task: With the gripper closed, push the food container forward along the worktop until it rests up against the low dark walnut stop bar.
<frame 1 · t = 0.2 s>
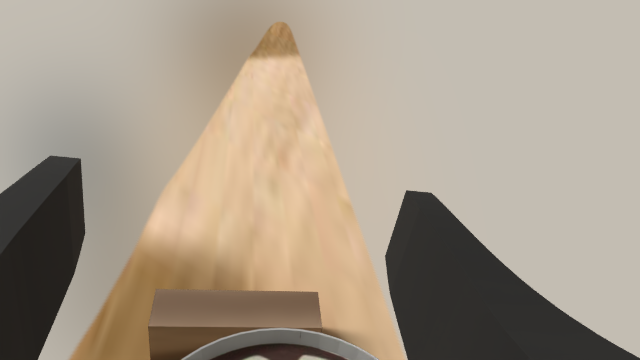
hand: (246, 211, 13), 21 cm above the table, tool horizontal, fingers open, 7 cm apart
walnut stop bar: (236, 342, 37), on the table
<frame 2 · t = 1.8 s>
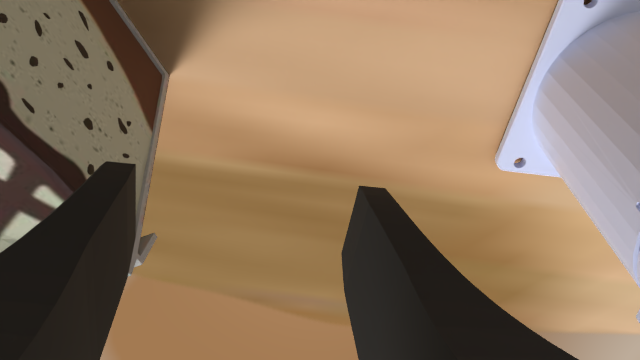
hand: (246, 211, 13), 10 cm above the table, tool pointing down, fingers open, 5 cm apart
food container: (21, 2, 21), on the table
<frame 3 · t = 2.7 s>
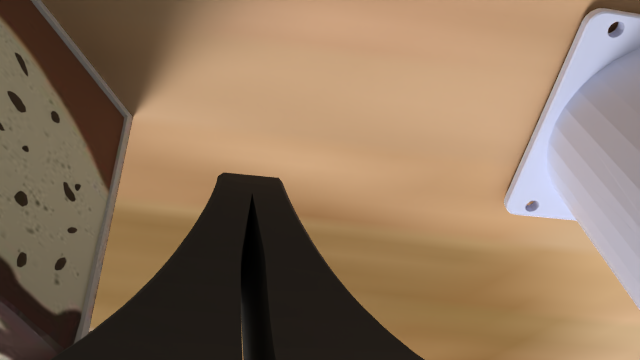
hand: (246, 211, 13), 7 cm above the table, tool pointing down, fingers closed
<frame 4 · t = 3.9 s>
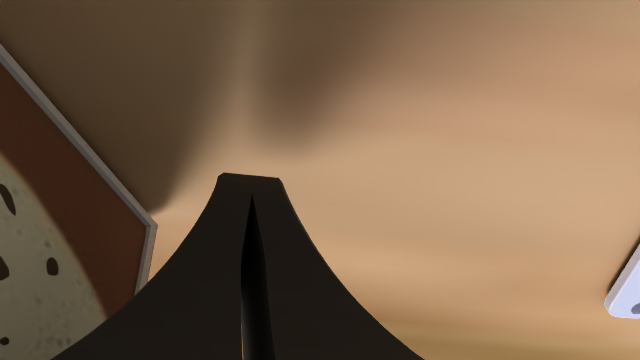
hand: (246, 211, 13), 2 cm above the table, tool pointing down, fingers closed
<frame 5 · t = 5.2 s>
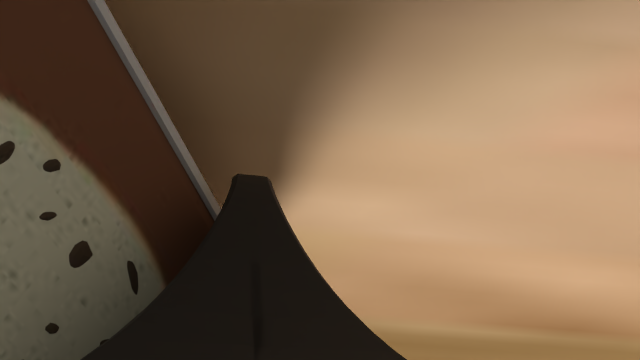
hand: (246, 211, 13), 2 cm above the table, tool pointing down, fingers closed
food container: (73, 146, 13), on the table, touching gripper
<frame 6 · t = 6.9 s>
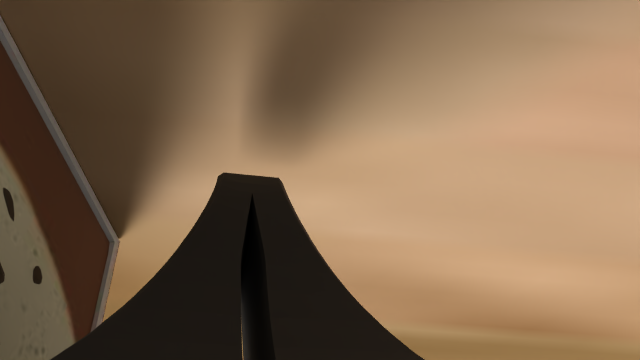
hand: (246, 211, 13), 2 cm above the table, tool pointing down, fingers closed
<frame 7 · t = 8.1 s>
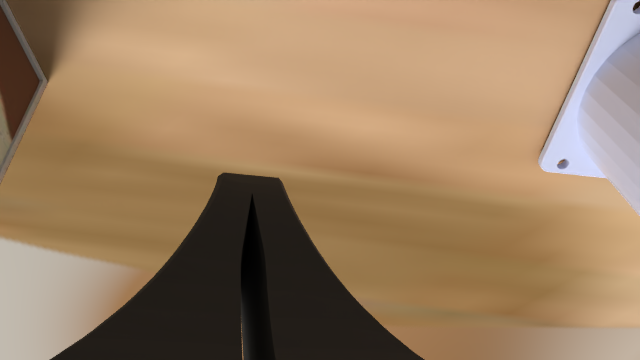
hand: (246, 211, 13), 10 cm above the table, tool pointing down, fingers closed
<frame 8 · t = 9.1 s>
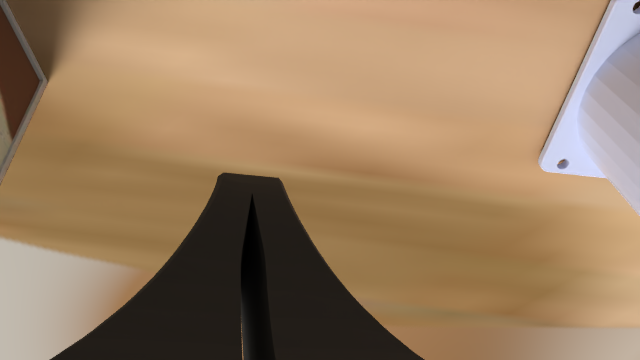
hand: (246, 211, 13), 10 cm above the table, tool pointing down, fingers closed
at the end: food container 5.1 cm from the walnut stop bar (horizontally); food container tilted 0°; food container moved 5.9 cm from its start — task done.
